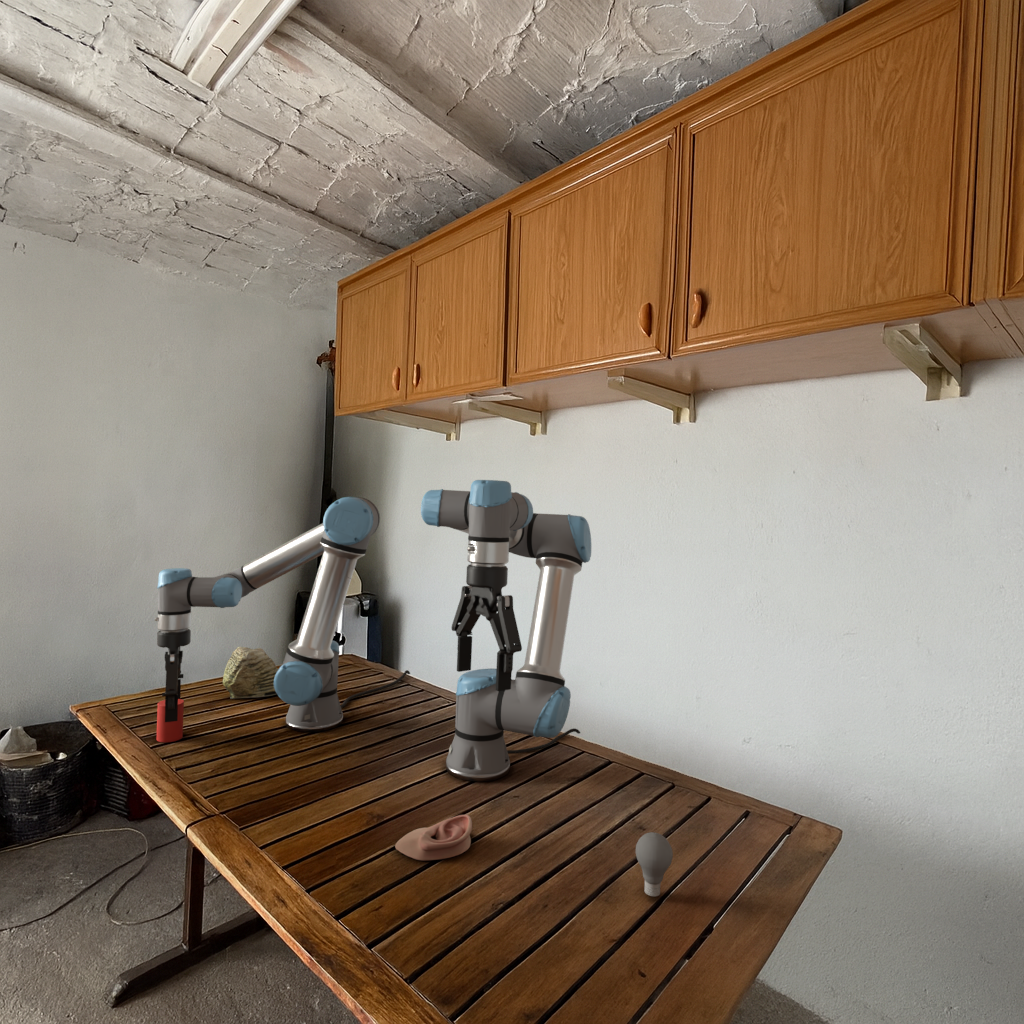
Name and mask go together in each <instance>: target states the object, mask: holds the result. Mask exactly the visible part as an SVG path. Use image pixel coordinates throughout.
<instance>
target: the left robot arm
mask: <svg viewBox="0 0 1024 1024" xmlns="http://www.w3.org/2000/svg"><path fill="white" fill-rule="evenodd" d="M380 523H381V516H380V512H379V509H378V506H376V505H375V503H373V501H371V500H369V499H367V498H365V497H359V496H345V497H341V498H339V499H337V500H335V501H334V502H332V503H331V504H330V505H329V506H328V508H326V510H325V512H324V515H323V520H322V523H320V524H319V525H317V526H314V527H313V528H311V529H308V530H307V531H305V532H303V533H301V534H300V535H297V536H295V537H294V538H292V539H290V540H288V541H286V542H284V543H283V544H280V545H278V546H277V547H275V548H273V549H271V550H269V551H267V552H266V553H264V554H262V555H260V556H258V557H256V558H254V559H252V560H250V561H249V562H247V563H245V564H243V565H241V566H239V567H237V568H235V569H233V570H231V571H229V572H227V573H223V574H221V575H220V574H219V575H217V576H212V577H211V576H209V577H208V576H207V577H203V576H201V577H198V576H193V573H192V570H191V569H190V568H184V567H175V568H174V567H172V568H165V569H162V570H160V571H159V573H158V578H157V579H158V580H157V586H156V589H157V616H156V617H154V621H155V622H157V630H158V631H157V633H156V645H157V646H158V648H159V647H160V648H164V649H165V648H167V649H168V650H167V651H165V652H164V662H165V664H164V670H165V689H164V690H165V692H162V694H161V697H164V700H165V722H173V721H177V720H178V699H181V692H182V691H181V689H182V688H181V687H182V684H181V683H182V679H184V673H182V669H181V668H182V663H183V657H184V651H183V650H181V647H187V646H188V645H190V644H191V641H192V640H191V639H192V638H191V637H192V636H191V635H192V633H191V632H192V631H191V629H190V628H191V627H192V608H195V607H199V608H220V609H225V608H234V607H237V606H238V605H239V604H240V602H241V600H242V598H244V597H246V596H248V595H249V594H250V593H252V592H254V591H256V590H257V589H259V588H261V587H263V586H265V585H267V584H269V583H271V582H273V581H275V580H276V579H278V578H280V577H282V576H284V575H286V574H288V573H289V572H291V571H293V570H296V569H297V568H299V567H301V566H303V565H305V564H307V563H309V562H310V561H312V560H314V559H316V558H318V557H320V556H321V559H320V563H319V566H318V568H317V571H316V572H317V573H316V576H315V579H314V582H313V585H312V589H311V592H310V595H309V598H308V601H307V605H306V609H305V612H304V614H303V617H302V621H301V625H300V628H299V631H298V634H297V638H296V639H295V640H293V641H291V642H290V643H288V646H287V649H286V652H285V654H284V658H283V662H282V665H280V666H279V668H278V671H277V672H276V675H275V677H274V688H275V691H276V693H277V694H276V695H277V696H278V698H279V699H280V700H281V701H283V702H284V703H285V704H287V705H289V708H288V711H287V713H286V715H285V726H286V728H287V729H289V730H291V731H294V732H295V731H296V732H301V733H316V732H325V731H329V730H332V729H335V728H337V727H339V726H340V725H342V723H343V722H344V714H343V709H342V708H345V707H346V705H347V704H348V702H350V701H351V700H353V699H356V698H359V697H361V696H365V695H368V694H372V693H375V692H379V691H381V690H384V689H387V688H390V687H393V686H395V685H396V684H398V683H400V682H401V681H402V680H403V679H404V678H405V677H406V676H407V675H411V672H410V670H409V669H408V670H405V671H404V672H403V673H402V675H400V676H399V677H398V678H397V679H395V680H394V681H392V682H389V683H387V684H384V685H382V686H379V687H375V688H372V689H367V690H365V691H362V692H358V693H355V694H352V695H349V696H348V697H346V698H345V700H344V701H343V703H342V704H341V702H340V699H339V695H338V682H339V681H338V680H339V678H338V677H339V660H340V659H339V657H340V645H339V643H338V642H337V641H335V640H333V639H334V636H335V633H336V631H337V628H338V627H337V626H338V623H339V620H340V617H341V615H342V614H341V613H342V610H343V607H344V604H345V600H346V598H347V594H348V591H349V588H350V584H351V581H352V578H353V575H354V572H355V568H356V566H357V562H358V560H359V559H360V558H362V557H364V556H366V553H367V550H368V547H369V542H370V540H371V537H372V536H373V535H374V534H375V533H376V532H377V530H378V528H379V526H380Z"/></svg>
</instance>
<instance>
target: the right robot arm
mask: <svg viewBox="0 0 1024 1024" xmlns="http://www.w3.org/2000/svg"><path fill="white" fill-rule="evenodd" d="M420 515H421V518H422V520H423V522H424V523H425V524H426V525H427V526H433V527H437V528H440V527H445V528H450V529H453V530H457V531H460V532H462V533H465V534H468V537H467V540H468V542H467V548H466V550H467V562H469V563H470V564H468V565H467V566H466V578H465V579H466V580H465V583H466V585H463V586H462V587H461V592H460V593H461V594H460V598H459V602H458V605H457V608H456V612H455V615H454V617H453V620H452V624H451V631H452V632H455V635H456V636H457V648H456V649H457V654H456V656H457V657H456V672H458V673H460V672H463V674H461V675H460V676H459V677H458V679H457V685H456V692H455V720H454V721H455V723H454V724H455V725H454V737H453V740H452V742H451V744H450V746H449V748H448V753H447V756H446V759H445V770H446V772H447V773H448V774H449V775H451V776H452V777H454V778H455V779H459V780H461V781H468V782H475V783H476V782H479V783H481V782H491V781H497V780H499V779H501V778H504V777H505V776H506V775H508V774H509V772H510V769H511V760H510V756H509V755H513V754H523V753H529V752H534V751H539V750H542V749H545V748H548V747H550V746H552V745H554V744H555V743H556V742H557V741H559V740H561V739H563V738H565V737H566V736H568V735H570V734H572V733H576V734H581V731H580V730H579V729H578V728H571V729H568V730H567V731H565V732H563V733H562V734H560V733H561V731H562V730H563V728H564V726H565V723H566V722H567V718H568V715H569V711H570V705H571V696H572V695H571V690H570V688H569V687H567V686H565V684H566V679H565V677H564V675H563V674H562V673H561V667H562V660H563V653H564V647H565V642H566V641H565V640H566V633H567V627H568V622H569V621H568V620H569V614H570V613H569V612H570V606H571V600H572V594H573V587H574V580H575V579H574V578H575V576H576V575H577V574H578V573H579V572H581V571H582V569H583V568H582V567H583V564H586V563H589V562H590V561H591V557H592V534H591V529H590V525H589V521H588V520H587V518H585V517H584V516H581V515H573V514H569V513H568V514H555V513H537V512H534V507H533V504H532V502H531V500H530V499H529V498H528V497H527V496H525V495H524V494H522V493H519V492H517V491H515V492H512V484H511V483H510V482H509V481H508V480H496V479H475V480H473V481H472V483H471V484H470V490H453V489H443V488H441V489H429V490H427V491H426V492H425V493H424V495H423V497H422V498H421V504H420ZM510 554H513V555H516V556H520V557H523V558H530V559H535V565H536V566H537V568H538V569H539V570H540V571H539V575H538V582H537V587H536V592H535V593H536V594H535V599H534V604H533V605H534V606H533V611H532V616H531V618H532V619H531V623H530V628H529V634H528V641H527V647H526V653H525V659H524V664H523V666H521V667H520V668H519V669H517V670H516V672H515V677H514V678H515V679H512V674H513V673H512V672H513V669H514V667H513V666H514V654H515V653H518V652H522V650H523V646H522V641H521V637H520V633H519V628H518V624H517V618H516V615H515V609H514V597H513V595H511V594H509V595H508V594H507V595H503V591H502V589H503V588H506V586H507V585H508V576H509V575H508V573H509V568H508V567H507V566H506V564H508V563H509V559H510V558H509V557H510ZM481 615H482V617H485V619H486V621H488V622H489V624H490V626H491V629H492V632H493V635H494V638H495V641H496V643H497V646H498V651H497V652H496V668H480V669H478V668H477V669H474V670H472V656H473V655H472V651H473V636H472V635H473V632H472V631H473V629H474V627H475V626H476V624H477V622H478V620H479V619H480V617H481ZM505 732H510V733H516V734H521V735H527V736H532V737H536V738H547V739H552V740H551V741H548V742H547V743H544V744H541V745H537V746H533V747H527V748H521V749H508V748H507V744H506V740H505V737H504V733H505ZM559 734H560V735H559Z"/></svg>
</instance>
